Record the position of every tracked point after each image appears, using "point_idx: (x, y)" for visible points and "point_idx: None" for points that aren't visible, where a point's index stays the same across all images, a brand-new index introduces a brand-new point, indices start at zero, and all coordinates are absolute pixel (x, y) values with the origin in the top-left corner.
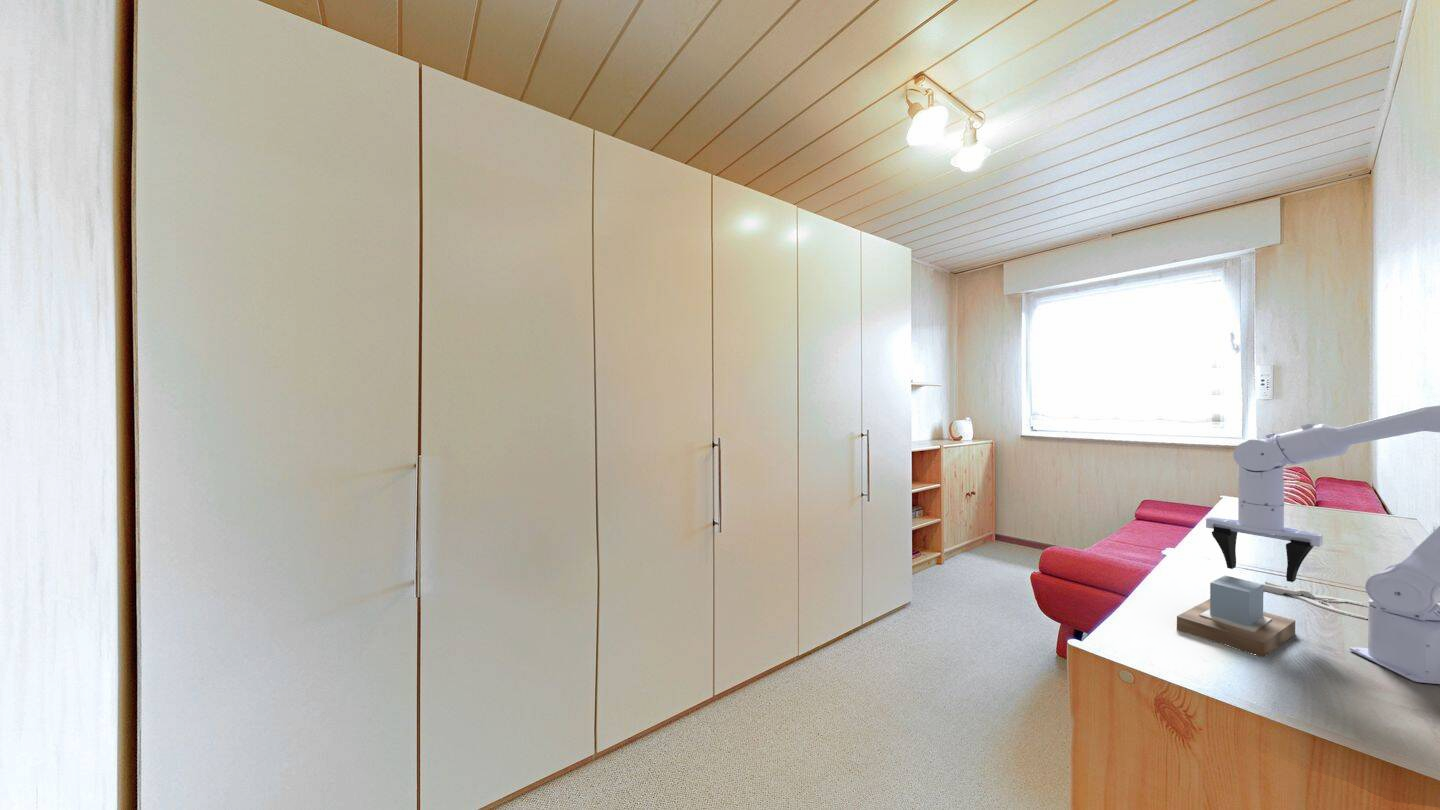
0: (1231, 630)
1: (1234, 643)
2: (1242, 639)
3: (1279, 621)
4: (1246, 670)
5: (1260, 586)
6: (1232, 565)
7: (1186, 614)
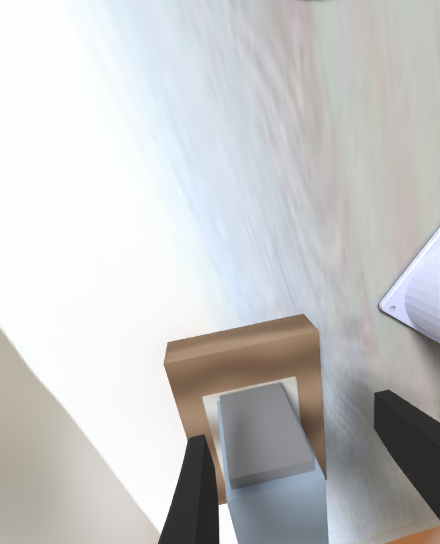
0: None
1: None
2: None
3: (304, 369)
4: None
5: (324, 494)
6: (215, 483)
7: None
